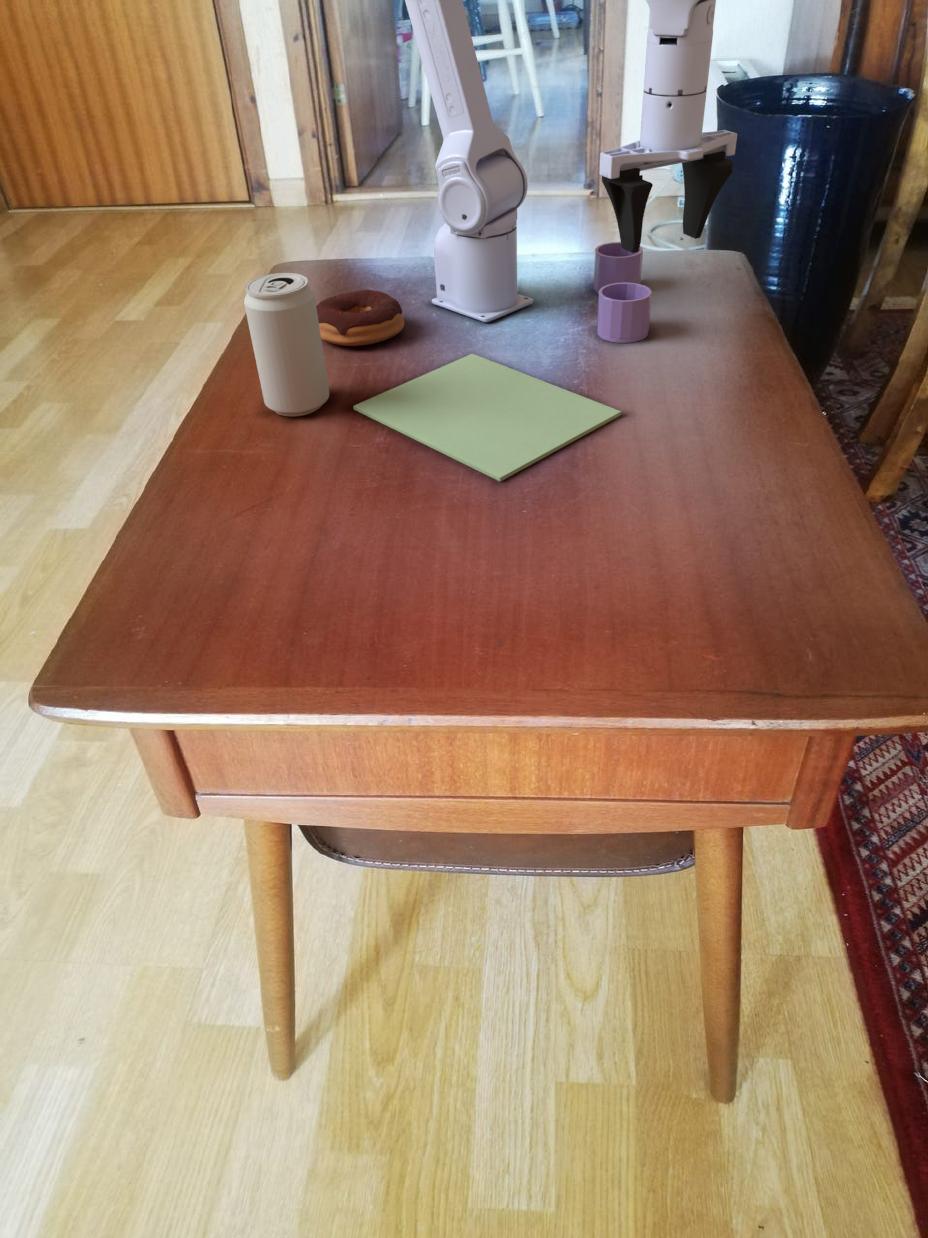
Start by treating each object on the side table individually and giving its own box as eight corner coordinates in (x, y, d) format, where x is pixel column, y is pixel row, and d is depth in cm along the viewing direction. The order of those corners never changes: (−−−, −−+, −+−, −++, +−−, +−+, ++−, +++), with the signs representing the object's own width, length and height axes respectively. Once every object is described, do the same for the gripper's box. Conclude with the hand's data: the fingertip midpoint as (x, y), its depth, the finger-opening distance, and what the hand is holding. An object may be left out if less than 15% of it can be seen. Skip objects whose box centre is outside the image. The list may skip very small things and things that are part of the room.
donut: (400, 313, 108) (397, 278, 105) (409, 346, 100) (406, 310, 98) (314, 322, 107) (308, 287, 105) (316, 356, 100) (311, 320, 97)
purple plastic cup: (584, 289, 111) (585, 250, 108) (613, 276, 114) (615, 238, 111) (619, 299, 108) (622, 260, 105) (649, 286, 111) (652, 248, 108)
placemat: (353, 409, 89) (353, 405, 89) (472, 356, 98) (472, 353, 97) (500, 481, 78) (499, 477, 78) (621, 415, 86) (621, 411, 86)
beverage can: (341, 393, 92) (324, 272, 85) (312, 423, 88) (291, 297, 80) (284, 387, 94) (262, 267, 86) (253, 415, 89) (227, 292, 82)
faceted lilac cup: (586, 333, 101) (588, 292, 98) (618, 318, 104) (621, 278, 101) (626, 347, 98) (629, 305, 95) (658, 331, 100) (662, 290, 98)
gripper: (634, 108, 80) (624, 267, 88) (766, 86, 84) (744, 239, 93) (589, 95, 85) (584, 247, 93) (716, 75, 89) (700, 221, 98)
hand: (661, 242), depth 93 cm, fingers open, 7 cm apart
